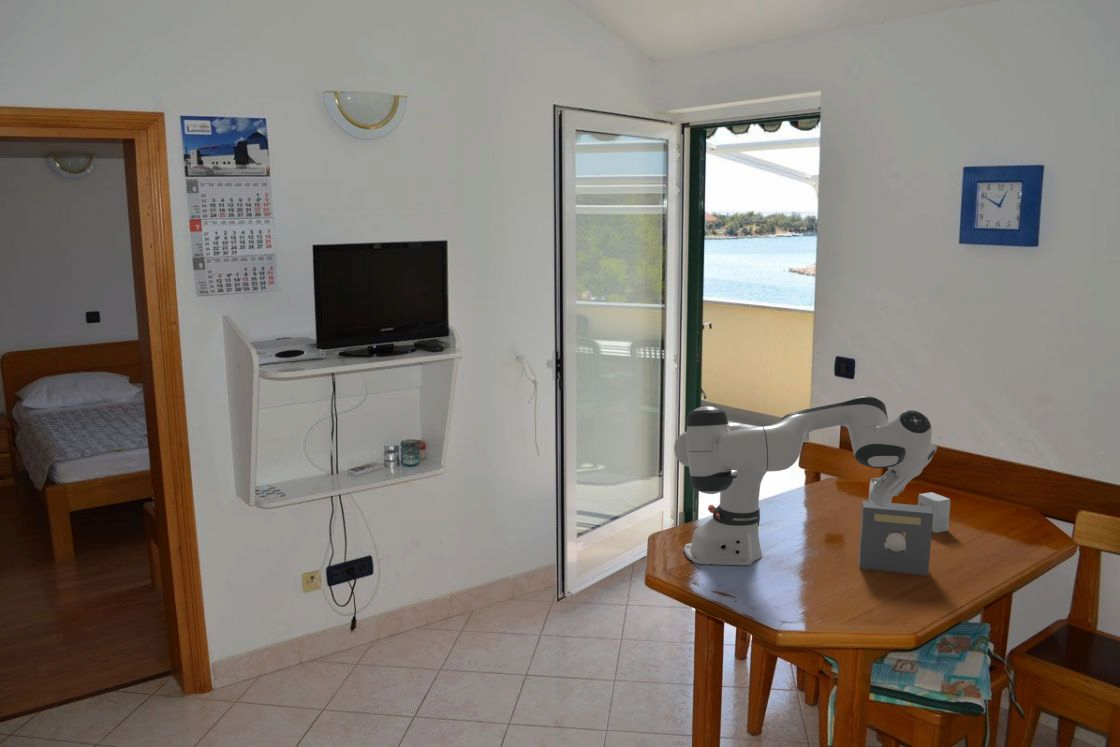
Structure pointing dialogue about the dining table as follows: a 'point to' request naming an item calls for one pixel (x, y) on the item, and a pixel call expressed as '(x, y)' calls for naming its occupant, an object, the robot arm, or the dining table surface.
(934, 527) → the small box
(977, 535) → the dining table surface
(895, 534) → the knob
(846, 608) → the dining table surface
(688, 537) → the dining table surface
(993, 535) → the dining table surface
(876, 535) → the control block
